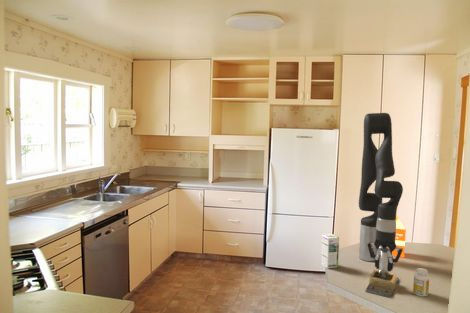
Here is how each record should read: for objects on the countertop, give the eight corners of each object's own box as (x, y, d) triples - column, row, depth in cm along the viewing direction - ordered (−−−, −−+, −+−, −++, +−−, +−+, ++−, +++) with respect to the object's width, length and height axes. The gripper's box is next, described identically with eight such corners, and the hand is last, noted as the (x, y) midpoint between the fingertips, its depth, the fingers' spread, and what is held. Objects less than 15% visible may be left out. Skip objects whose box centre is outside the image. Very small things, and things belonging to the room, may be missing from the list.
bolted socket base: (376, 274, 160) (376, 265, 160) (398, 279, 155) (398, 270, 155) (365, 291, 143) (366, 281, 142) (390, 297, 138) (390, 287, 137)
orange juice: (387, 255, 186) (390, 217, 184) (386, 250, 194) (388, 214, 193) (404, 257, 184) (406, 219, 182) (401, 252, 192) (404, 215, 190)
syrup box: (327, 268, 165) (328, 237, 164) (320, 264, 171) (322, 234, 170) (338, 267, 167) (339, 237, 166) (331, 263, 173) (333, 233, 172)
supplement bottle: (423, 290, 145) (424, 267, 144) (431, 296, 140) (432, 272, 139) (410, 290, 145) (411, 267, 144) (417, 296, 139) (419, 272, 139)
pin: (377, 278, 152) (379, 244, 151) (390, 281, 150) (392, 246, 148) (375, 282, 148) (377, 247, 147) (388, 285, 145) (390, 249, 144)
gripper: (406, 230, 147) (403, 270, 148) (369, 224, 154) (367, 263, 155) (403, 234, 140) (401, 276, 142) (365, 228, 148) (363, 268, 149)
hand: (383, 269), depth 149 cm, fingers open, 4 cm apart
